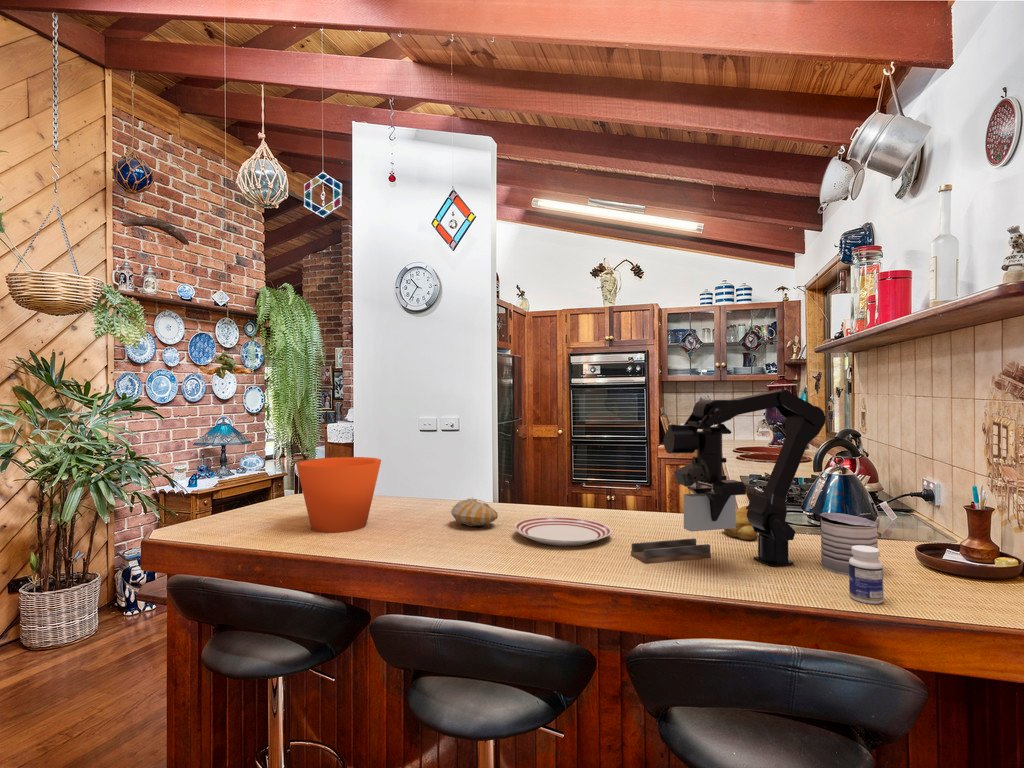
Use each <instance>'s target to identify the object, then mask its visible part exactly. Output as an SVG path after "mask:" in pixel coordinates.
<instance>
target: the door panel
mask: <svg viewBox="0 0 1024 768" xmlns="http://www.w3.org/2000/svg"><path fill="white" fill-rule="evenodd" d="M736 496H737V495H731V496H730V498H729V499H728V501H727V502H726V504H725V506H724V508H723V510H722V512H721V514H720V516H719V517H718V519H717V521H712V518H711V510H710V499H709V498H708V496H707V495H706V494H705V493H700V494H694V493H686V494H685V493H684V494H683V529H684V530H686V531H689V532H702V531H704V532H705V531H714V530H715V531H717V530H724V529H732V528H736V511H737V510H736V506H737V505H736V503H737V500H736Z"/></svg>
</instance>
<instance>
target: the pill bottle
mask: <svg viewBox="0 0 1024 768" xmlns="http://www.w3.org/2000/svg"><path fill="white" fill-rule="evenodd" d="M880 552H881V551H880V549H879V548H878V549H877V548H875V547H871V546H864V545H856V546H852V548H851V553H852V554H853V557H851V558H850V559H849V575H848V584H849V585H848V587H849V588H848V589H849V590H848V591H849V593H848V594H849V597H850V598H851V599H853V600H855V601H857V602H859V603H860V602H861V603H864V604H869V605H877V604H881V603H884V600H885V593H884V587H885V586H884V585H885V584H884V565H883V563H882V562H881V561H880V560H879V558H880V556H881V553H880Z"/></svg>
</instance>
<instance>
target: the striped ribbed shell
mask: <svg viewBox="0 0 1024 768" xmlns="http://www.w3.org/2000/svg"><path fill="white" fill-rule="evenodd" d="M479 501H480V502H479ZM450 513H451V515H452V517H453V518H454V519H455V521H456V522H458V523H462V524H463V525H464V524H465V525H466V526H468V527H474V526H475V527H476V526H483V527H485V526H487V525H488V524H490V523H493V522H495V521H496V520H498V516H499V514H498V512H497V511H496V510H495V509H494V508H492V507H491V506H490V505H489V504H488V503H486V502H485V501H484V500H480V499H477V498H474V497H473V496H472V497H471V498H467V499H463V500H459V501H458V502H457V503H455V504H454V506H452V509H451V510H450Z"/></svg>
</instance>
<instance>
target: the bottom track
mask: <svg viewBox="0 0 1024 768" xmlns="http://www.w3.org/2000/svg"><path fill="white" fill-rule="evenodd" d="M630 556H632V558H635V559H636V560H638V561H640V562H642V563H644V564H656V563H657V564H658V563H669V562H679V561H686V560H687V561H688V560H690V561H691V560H698V559H709V558H710V559H711V558H712V553H711V544H709V543H707V544H706V543H705V544H697V538H684V539H683V538H681V539H669V540H659V541H658V540H656V541H646V542H635V543H631V550H630Z"/></svg>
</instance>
